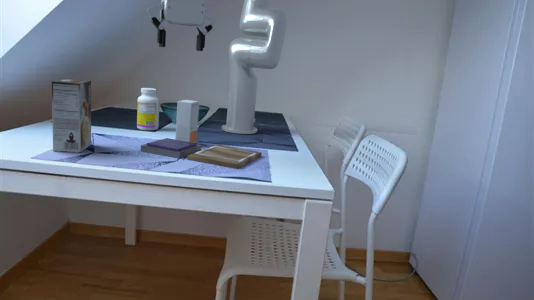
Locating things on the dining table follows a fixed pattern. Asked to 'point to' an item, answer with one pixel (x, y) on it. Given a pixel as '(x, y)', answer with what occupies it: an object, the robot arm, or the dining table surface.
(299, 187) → the dining table surface
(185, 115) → the skincare box
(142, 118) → the supplement bottle
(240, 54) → the robot arm
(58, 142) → the coffee box
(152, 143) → the ink pad
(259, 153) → the wooden tray
